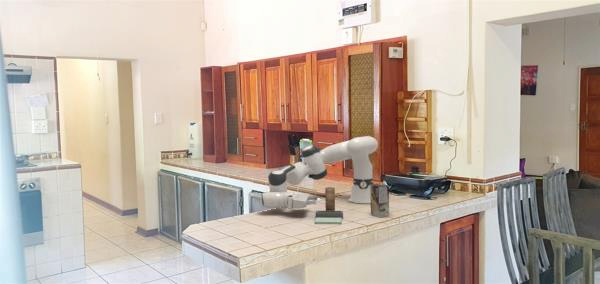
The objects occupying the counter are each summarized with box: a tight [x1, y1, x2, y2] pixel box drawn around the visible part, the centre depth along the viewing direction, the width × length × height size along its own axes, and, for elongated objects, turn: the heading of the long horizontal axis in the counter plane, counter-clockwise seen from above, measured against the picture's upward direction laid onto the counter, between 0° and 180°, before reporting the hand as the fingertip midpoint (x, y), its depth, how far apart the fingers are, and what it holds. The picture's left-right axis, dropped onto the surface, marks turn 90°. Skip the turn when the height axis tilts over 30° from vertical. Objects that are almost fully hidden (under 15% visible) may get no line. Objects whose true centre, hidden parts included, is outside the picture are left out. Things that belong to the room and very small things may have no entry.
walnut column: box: [324, 186, 336, 211], centre depth 246 cm, size 5×5×14 cm
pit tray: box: [315, 210, 344, 220], centre depth 239 cm, size 5×14×3 cm, turn 83°
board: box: [314, 217, 343, 225], centre depth 230 cm, size 9×13×1 cm
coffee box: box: [370, 183, 390, 218], centre depth 241 cm, size 9×6×16 cm
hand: (316, 200), depth 247 cm, fingers open, 8 cm apart
